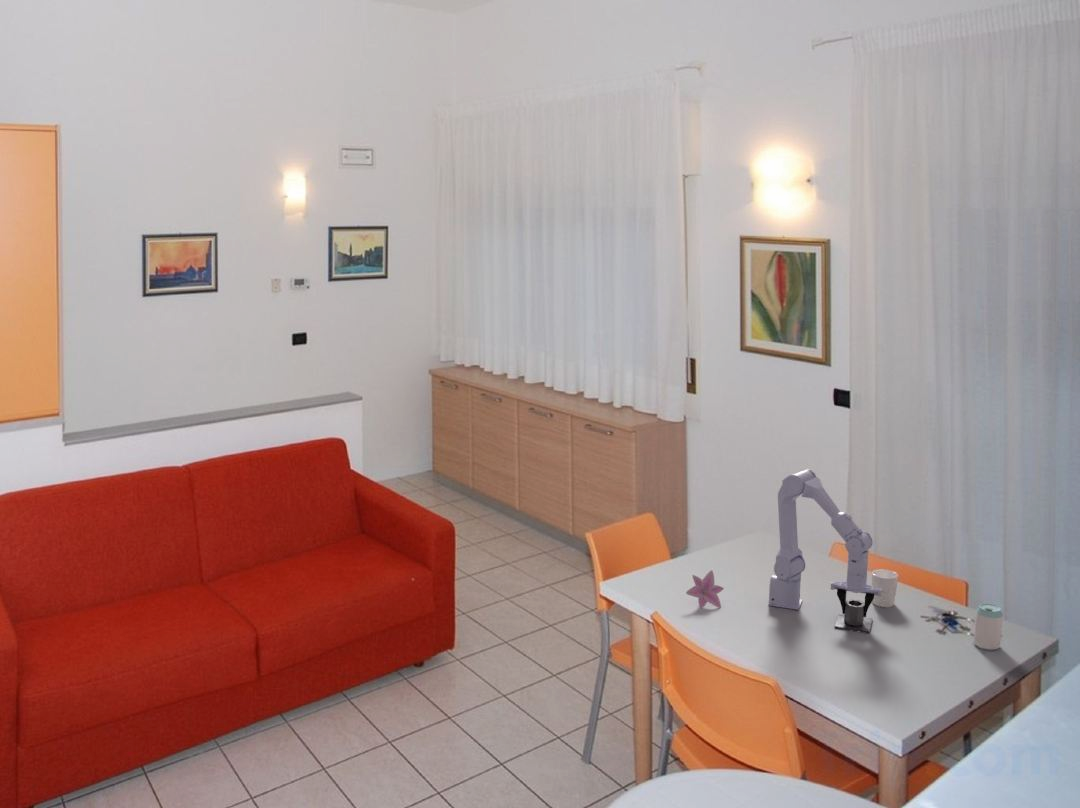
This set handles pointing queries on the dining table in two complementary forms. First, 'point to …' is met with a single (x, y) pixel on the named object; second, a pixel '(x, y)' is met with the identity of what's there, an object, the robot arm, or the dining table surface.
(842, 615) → the post
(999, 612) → the can
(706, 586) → the lily
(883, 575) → the white cup
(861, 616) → the tube
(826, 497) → the robot arm
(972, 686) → the dining table surface
